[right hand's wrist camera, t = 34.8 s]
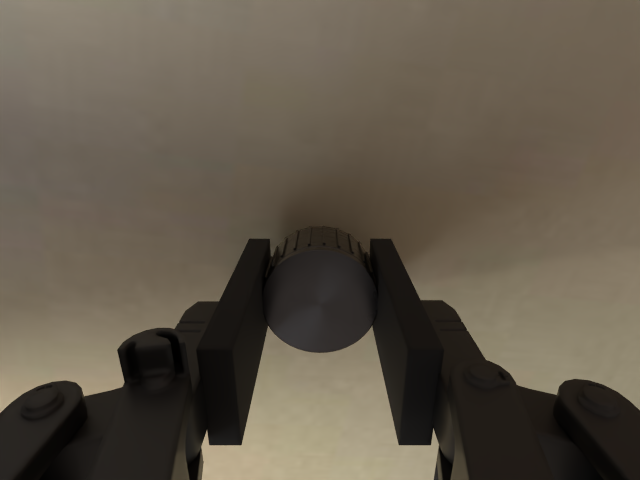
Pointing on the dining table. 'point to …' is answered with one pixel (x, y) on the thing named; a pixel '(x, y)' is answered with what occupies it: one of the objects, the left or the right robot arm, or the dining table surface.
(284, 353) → the dining table surface
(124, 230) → the dining table surface
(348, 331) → the cap
